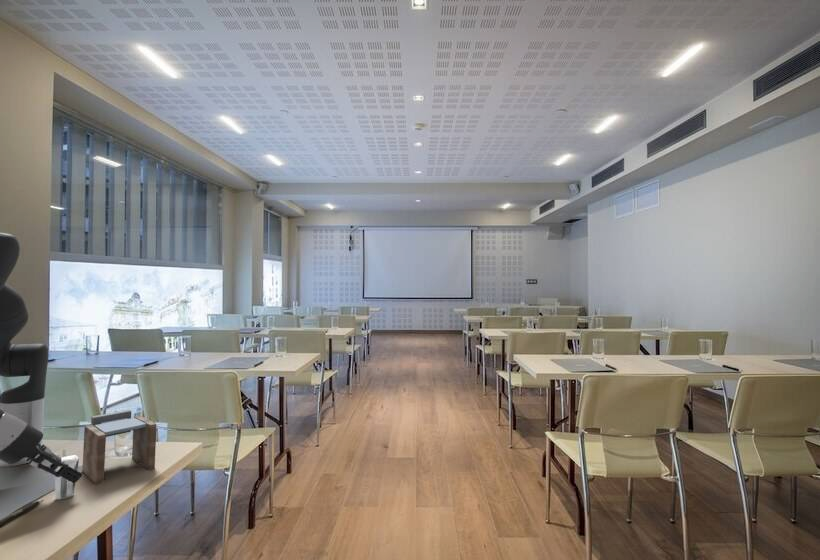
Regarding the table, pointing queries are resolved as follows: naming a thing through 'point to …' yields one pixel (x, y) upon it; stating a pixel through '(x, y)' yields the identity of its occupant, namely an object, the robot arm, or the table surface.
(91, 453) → the stand
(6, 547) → the table surface
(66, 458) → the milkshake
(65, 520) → the table surface
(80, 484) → the table surface
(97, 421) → the trapdoor
